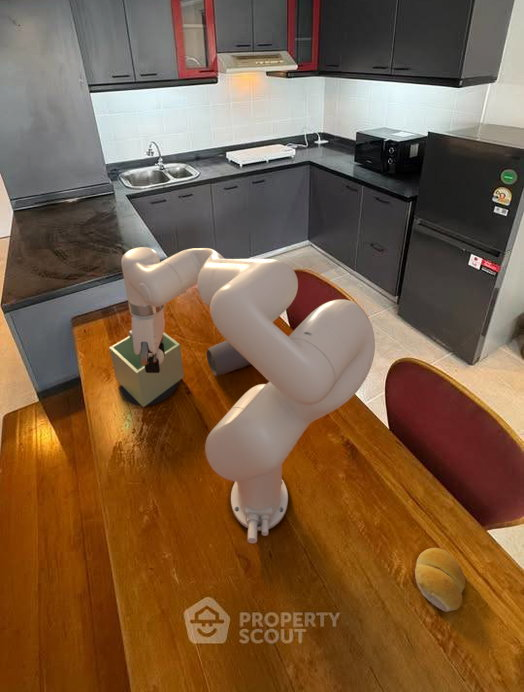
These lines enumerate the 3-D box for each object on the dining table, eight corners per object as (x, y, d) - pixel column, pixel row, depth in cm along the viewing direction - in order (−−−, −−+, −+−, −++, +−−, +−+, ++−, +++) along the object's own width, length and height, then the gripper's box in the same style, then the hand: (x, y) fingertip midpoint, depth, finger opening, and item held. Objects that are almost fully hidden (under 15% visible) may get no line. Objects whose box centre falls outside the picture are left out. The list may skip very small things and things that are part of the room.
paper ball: (162, 371, 89) (160, 357, 87) (143, 371, 89) (141, 357, 87) (166, 357, 93) (164, 343, 91) (148, 357, 93) (146, 343, 91)
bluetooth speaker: (218, 386, 112) (216, 361, 107) (206, 365, 119) (204, 340, 115) (284, 359, 122) (285, 334, 117) (269, 341, 129) (270, 317, 125)
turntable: (173, 406, 106) (172, 403, 105) (112, 405, 106) (111, 403, 105) (184, 360, 121) (184, 358, 121) (131, 360, 121) (131, 357, 121)
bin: (116, 380, 112) (107, 342, 106) (156, 353, 122) (150, 318, 116) (143, 407, 104) (135, 368, 98) (184, 376, 113) (179, 339, 107)
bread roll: (466, 571, 73) (471, 560, 71) (456, 623, 66) (462, 613, 64) (422, 541, 77) (425, 530, 75) (408, 587, 70) (412, 577, 69)
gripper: (140, 279, 90) (149, 338, 98) (116, 328, 75) (129, 393, 83) (171, 280, 90) (178, 338, 98) (154, 328, 75) (163, 393, 83)
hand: (155, 363), depth 91 cm, fingers closed on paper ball, 4 cm apart
